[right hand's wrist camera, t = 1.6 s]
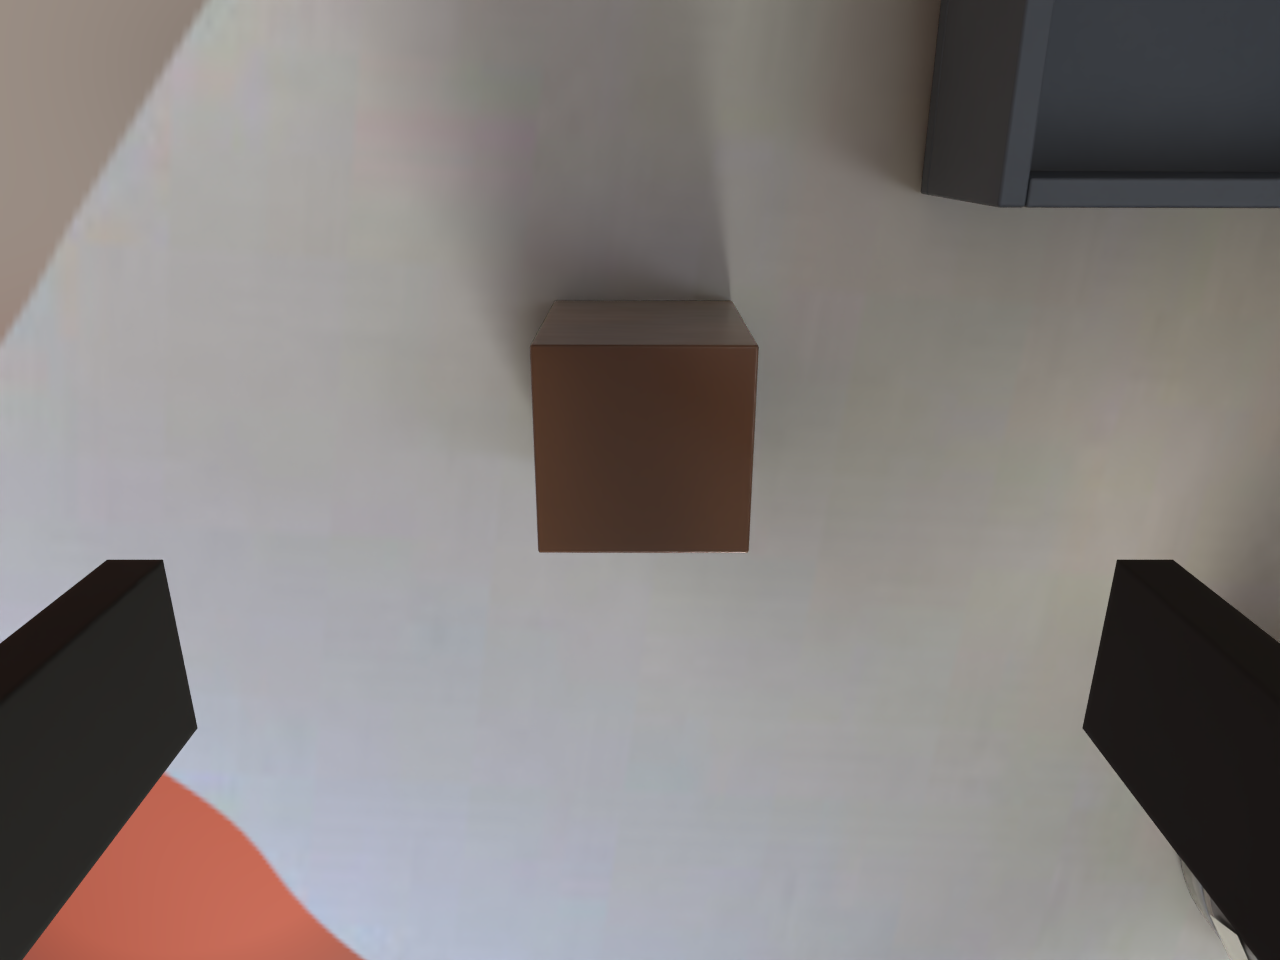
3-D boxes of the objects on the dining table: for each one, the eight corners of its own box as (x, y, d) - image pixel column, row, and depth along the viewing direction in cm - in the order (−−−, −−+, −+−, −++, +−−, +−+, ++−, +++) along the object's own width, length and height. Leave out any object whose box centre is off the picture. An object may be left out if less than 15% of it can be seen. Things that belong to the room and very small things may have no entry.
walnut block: (732, 300, 25) (758, 345, 20) (726, 468, 27) (749, 553, 21) (554, 300, 25) (529, 345, 20) (559, 467, 27) (538, 553, 21)
